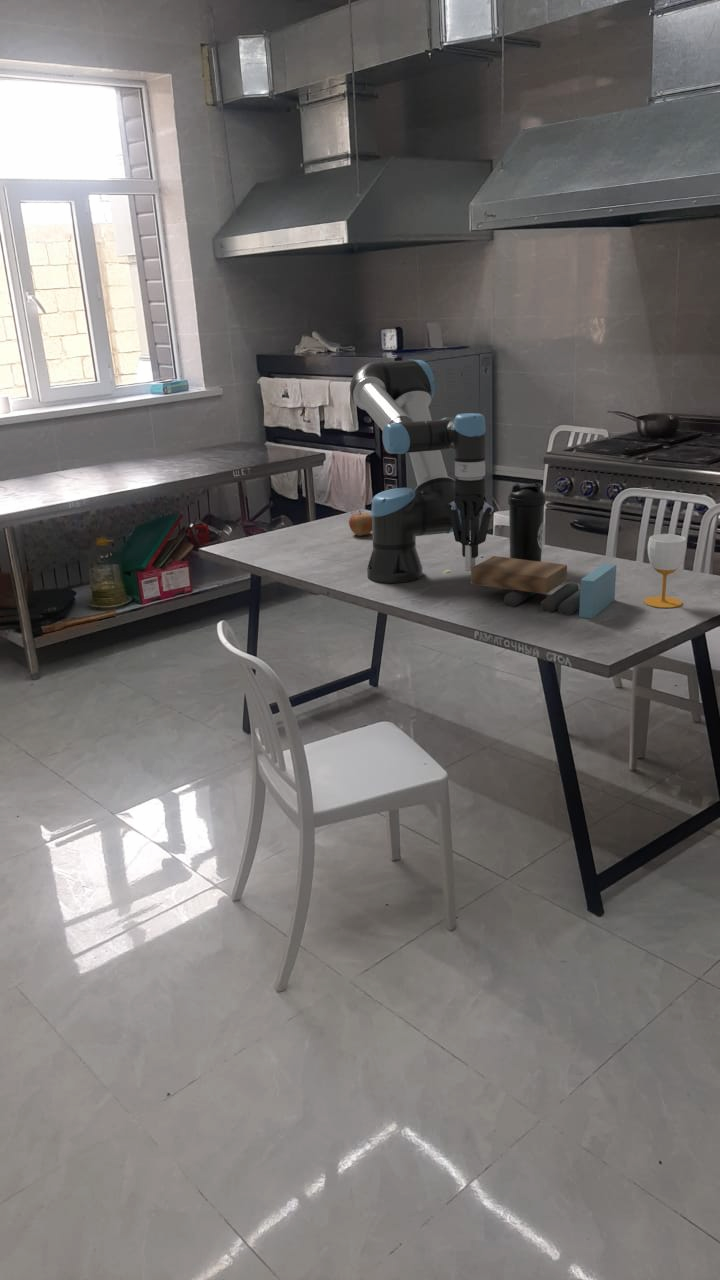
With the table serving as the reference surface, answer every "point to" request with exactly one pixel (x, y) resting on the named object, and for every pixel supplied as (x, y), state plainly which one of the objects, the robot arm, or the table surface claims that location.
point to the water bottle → (526, 521)
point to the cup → (665, 564)
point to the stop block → (597, 590)
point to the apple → (361, 524)
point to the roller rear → (516, 597)
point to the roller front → (570, 604)
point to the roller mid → (559, 597)
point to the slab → (519, 574)
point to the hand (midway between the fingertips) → (470, 569)
